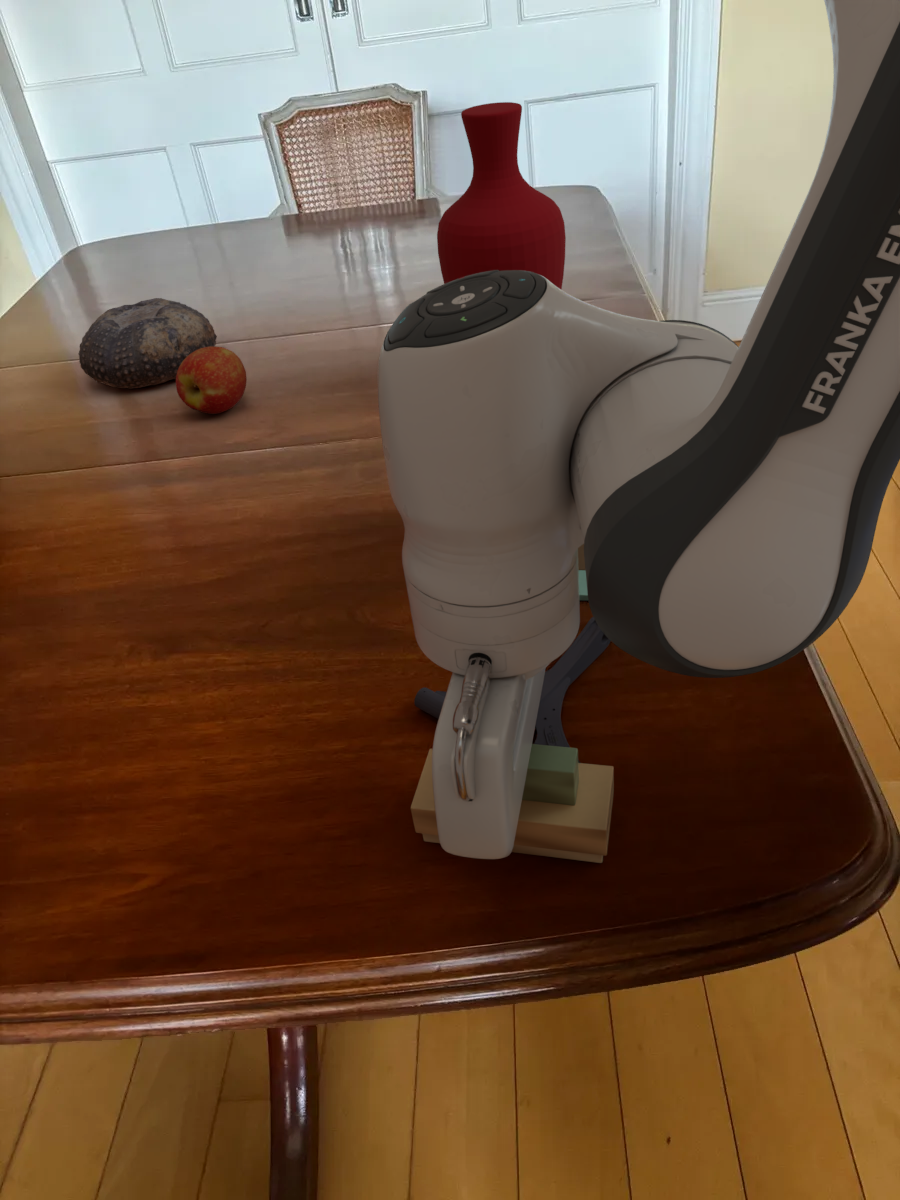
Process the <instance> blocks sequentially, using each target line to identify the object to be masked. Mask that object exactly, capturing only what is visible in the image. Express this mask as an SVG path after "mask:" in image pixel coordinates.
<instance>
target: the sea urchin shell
mask: <svg viewBox="0 0 900 1200" xmlns="http://www.w3.org/2000/svg"><path fill="white" fill-rule="evenodd" d="M217 338H218V335H217V333H216V332H215V329H214V326H213V325H212V324H211V322H210V320H209V318H207V317H206V316H205V315H204V314H203V313H202V312H200V311H199V310H198V309H194V308H193V307H191V306H188V305H187V304H186V303H181V302H180V301H175V300H169V299H166V298H162V297H155V298H150V299H145V300H141V301H138V302H136V303H134V304H123V305H121V306H117V307H112V308H110V309H107V310H105V311H104V312H103V313H102V314H101V315H99V316H98V317H97V318H96V319H95V321H93V322H92V323H91V325H90V327H89V328H88V330H87V331H86V332H85V334H84V335H83V336H82V338H81V342H80V344H79V351H78V357H79V359H78V362H79V364H80V368H81V369H82V370H83V372H84V374H86V375H87V376H88V377H89V378H90V379H92V380H94V381H95V382H96V383H98V384H99V383H101V384H103V385H106V386H110V387H113V388H117V389H129V390H131V389H140V388H146V387H148V386H157V385H159V384H164V383H166V382H169V381H172V380H176V375H177V371H178V368H179V366H180V365H181V363H182V362H183V360H184V359H185V358H186V357H187V356H188V355H190V354H191V353H192V352H194V351H196V350H198V349H201V348H204V347H216V345H217Z"/></svg>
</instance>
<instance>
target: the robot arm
mask: <svg viewBox="0 0 900 1200" xmlns="http://www.w3.org/2000/svg"><path fill="white" fill-rule="evenodd" d="M823 1H824V5H825V10H826V15H827V21H828V27H829V35H830V40H831V49H832V51H831V52H832V70H833V72H832V73H833V79H832V80H833V82H832V99H831V107H830V116H829V122H828V127H827V131H826V136H825V141H824V146H823V149H822V152H821V156H820V158H819V162H818V165H817V169H816V172H815V174H814V178H813V179H812V182H811V185H810V187H809V189H808V191H807V194H806V196H805V198H804V201H803V202H802V205H801V208H800V209H799V212H798V214H797V216H796V218H795V221H794V223H793V225H792V227H791V230H790V231H789V234H788V237H787V238H786V241H785V243H784V244H783V248H782V250H781V252H780V254H779V257H778V258H777V261H776V263H775V265H774V267H773V269H772V272H771V274H770V277H769V278H768V281H767V283H766V286H765V287H764V290H763V292H762V295H761V296H760V299H759V300H758V304H757V306H756V308H755V310H754V312H753V314H752V316H751V319H750V321H749V323H748V326H747V327H746V329H745V332H744V334H743V337H742V339H741V342H740V343H739V344H738V345H737V344H736V342H735V341H734V340H732V339H731V338H730V337H729V336H727V335H726V334H724V333H723V332H721V331H719V330H717V329H715V328H713V327H711V326H708V325H706V324H702V323H700V322H695V321H690V320H682V319H665V320H654V319H645V318H640V317H635V316H630V315H626V314H623V313H622V314H621V313H618V312H615V311H611V310H608V309H605V308H602V307H599V306H596V305H594V304H591V303H588V302H586V301H584V300H581V299H579V298H578V297H575V296H573V295H571V294H569V293H567V292H566V291H564V290H563V289H562V290H561V289H559V288H558V287H556V286H555V285H554V284H553V283H551V282H550V281H549V280H548V279H546V278H545V277H543V276H542V275H539V274H536V273H534V272H530V271H523V270H504V271H499V270H492V271H486V272H481V273H476V274H472V275H468V276H465V277H462V278H458V279H456V280H453V281H451V282H448V283H446V284H444V283H442V284H441V285H439V286H437V287H434V288H433V289H430V290H429V291H427V292H426V294H424V295H422V296H420V297H419V298H418V299H416V300H414V301H413V302H411V303H409V304H408V305H407V306H406V307H405V308H404V309H403V310H402V311H401V312H400V313H399V315H398V316H397V318H395V320H394V321H393V323H392V324H391V326H390V327H389V329H388V330H387V332H386V334H385V336H384V339H383V342H382V345H381V347H380V350H379V356H378V357H379V358H378V363H377V364H378V365H377V401H378V402H377V403H378V414H379V415H378V416H379V426H380V427H379V428H380V434H381V445H382V452H383V459H384V465H385V473H386V478H387V484H388V489H389V493H390V497H391V500H392V502H393V505H394V507H395V509H396V510H397V512H398V513H399V516H400V518H401V519H402V522H403V529H404V534H403V536H404V537H403V541H402V547H401V561H402V569H403V575H404V580H405V585H406V592H407V596H408V603H409V610H410V614H411V620H412V626H413V631H414V637H415V640H416V642H417V646H418V647H419V649H420V650H421V652H422V653H423V654H424V656H425V657H426V658H427V659H429V660H430V661H431V662H432V663H434V664H435V665H437V666H438V667H440V668H442V669H444V670H446V671H449V672H451V677H450V680H449V683H448V686H447V690H446V692H447V693H446V696H445V700H444V703H443V706H442V710H441V713H440V716H439V719H437V724H436V728H435V731H434V737H433V743H432V749H433V750H432V782H433V793H434V803H435V813H436V821H437V829H438V836H439V841H440V843H439V844H440V846H441V848H442V850H444V852H446V853H448V854H451V855H454V856H458V857H462V858H471V859H478V860H499V859H504V858H507V857H508V856H510V855H511V853H513V852H512V849H513V846H514V840H515V835H516V829H517V824H518V818H519V813H520V807H521V802H522V796H523V791H524V785H525V780H526V774H527V769H528V763H529V758H530V752H531V747H532V744H533V741H534V735H535V731H536V729H535V725H536V719H537V714H538V708H539V703H540V697H541V692H542V686H543V681H544V675H545V672H546V671H547V670H546V668H547V667H548V666H549V665H550V664H551V663H552V662H554V661H555V660H557V659H558V658H559V657H561V656H563V655H564V654H565V652H566V651H567V650H568V648H569V647H570V646H571V645H572V643H573V642H574V641H575V639H576V638H577V635H578V634H579V629H580V625H581V624H580V623H581V611H580V609H581V607H580V603H581V602H580V600H579V567H578V548H579V547H580V546H581V545H583V544H584V559H585V570H586V581H587V592H588V605H589V609H590V612H591V615H592V617H594V619H595V621H596V623H597V624H598V626H599V627H600V629H601V630H602V632H603V633H604V634H605V635H606V636H607V638H608V639H609V640H611V643H613V645H615V646H616V647H618V648H619V649H620V650H621V651H623V652H625V653H626V654H628V655H630V656H632V657H633V658H635V659H637V660H639V661H641V662H643V663H645V664H648V665H651V666H653V667H656V668H658V669H661V670H664V671H667V672H672V673H674V674H678V675H683V676H688V677H693V678H694V677H695V678H703V679H704V678H705V679H706V678H707V679H722V678H723V679H725V678H735V677H742V676H743V677H744V676H747V675H752V674H755V673H759V672H762V671H765V670H768V669H771V668H774V667H776V666H778V665H780V664H782V663H784V662H786V661H788V660H790V659H791V658H794V657H795V656H797V655H798V654H799V653H801V652H803V651H804V650H805V649H807V648H808V647H810V646H811V645H812V644H813V643H815V642H816V641H817V640H818V639H819V638H820V637H821V636H822V635H823V634H825V633H826V632H827V631H828V630H829V629H830V628H831V627H832V625H833V624H834V623H835V622H836V621H837V620H838V619H839V617H840V616H841V615H842V614H843V612H844V611H845V610H846V608H847V607H848V606H849V603H850V602H851V600H852V599H853V597H854V596H855V594H856V592H857V591H858V588H859V587H860V585H861V583H862V580H863V577H864V575H865V573H866V570H867V567H868V564H869V560H870V557H871V553H872V548H873V545H874V544H873V543H874V539H875V534H876V530H877V526H878V525H877V524H878V521H879V517H880V513H881V509H882V505H883V502H884V498H885V496H886V493H887V490H888V487H889V485H890V482H891V481H892V478H893V475H894V473H895V471H896V469H897V466H898V464H899V462H900V0H823Z"/></svg>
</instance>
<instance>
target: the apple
mask: <svg viewBox="0 0 900 1200" xmlns="http://www.w3.org/2000/svg"><path fill="white" fill-rule="evenodd" d="M247 380H248V379H247V371H246V368H245V365H244V364H243V361H242V360H241V358H240V357H239V355H237V354H236V352H234V351H232V350H230V349H228V348H225V347H222V346H214V347H204V348H201V349H198V350H196V351H194V352H192V353H191V354H190V355H188V356H187V357H186V358H185V359H184V360H183V362H182V363H181V365H180V366H179V368H178V371H177V375H176V379H175V387H176V392H177V394H178V397H179V399H180V400H181V401H182V403H183V404H185V406H187V407H188V408H190V409H192V410H194V411H197V412H200V413H203V414H207V415H208V414H209V415H215V414H221V413H224V412H227V411H229V410H230V409H232V408H233V407H234V406H236V405H237V404H238V403H239V402H240V401H241V399H242V397H243V395H244V393H245V391H246V388H247V382H248V381H247Z"/></svg>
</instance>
